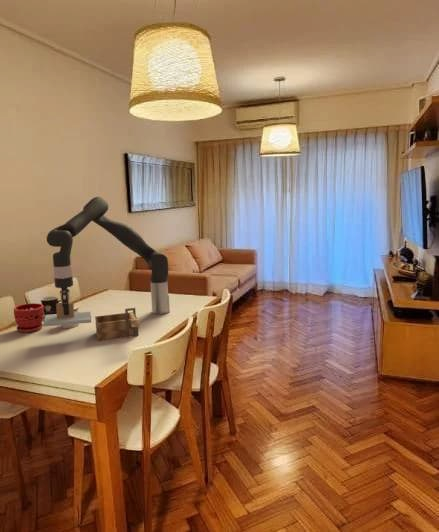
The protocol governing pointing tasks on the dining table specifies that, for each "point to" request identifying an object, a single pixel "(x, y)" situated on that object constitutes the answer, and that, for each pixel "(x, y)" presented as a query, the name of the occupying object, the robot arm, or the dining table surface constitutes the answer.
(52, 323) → the lid
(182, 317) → the dining table surface
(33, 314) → the plant pot
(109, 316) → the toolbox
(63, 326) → the teacup with lid
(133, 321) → the key
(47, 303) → the coffee mug
